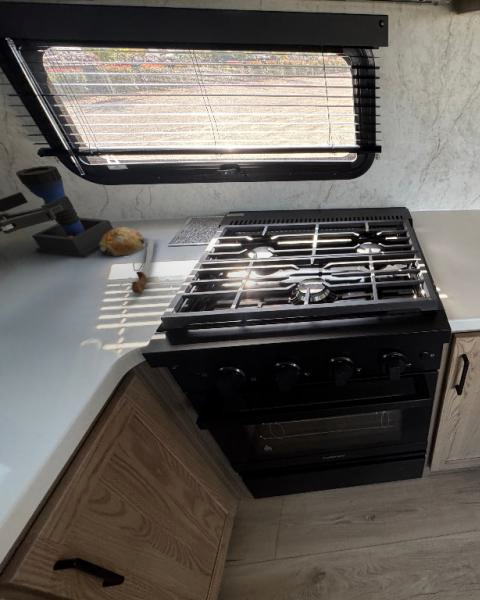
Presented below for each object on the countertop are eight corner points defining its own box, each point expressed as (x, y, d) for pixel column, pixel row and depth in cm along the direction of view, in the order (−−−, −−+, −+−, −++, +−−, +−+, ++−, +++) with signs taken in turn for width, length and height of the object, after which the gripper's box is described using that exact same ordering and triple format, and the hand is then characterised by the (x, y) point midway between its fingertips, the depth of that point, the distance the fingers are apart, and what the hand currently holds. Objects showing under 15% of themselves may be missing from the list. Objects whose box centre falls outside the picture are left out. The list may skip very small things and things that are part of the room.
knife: (136, 286, 79) (150, 228, 100) (129, 287, 79) (145, 228, 100) (145, 300, 82) (157, 241, 103) (138, 302, 82) (152, 242, 103)
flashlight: (71, 234, 103) (28, 165, 91) (101, 232, 104) (62, 164, 92) (55, 247, 97) (7, 175, 84) (87, 245, 98) (44, 174, 86)
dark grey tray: (38, 253, 97) (26, 235, 94) (79, 232, 107) (69, 215, 104) (86, 258, 96) (74, 240, 92) (122, 236, 106) (113, 220, 102)
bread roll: (144, 264, 100) (147, 239, 97) (97, 259, 94) (99, 233, 91) (143, 249, 107) (146, 225, 104) (99, 244, 100) (101, 218, 97)
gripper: (-9, 225, 71) (80, 188, 88) (-111, 215, 74) (-5, 181, 90) (15, 256, 76) (95, 216, 92) (-81, 246, 78) (14, 208, 95)
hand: (46, 199), depth 91 cm, fingers open, 13 cm apart
